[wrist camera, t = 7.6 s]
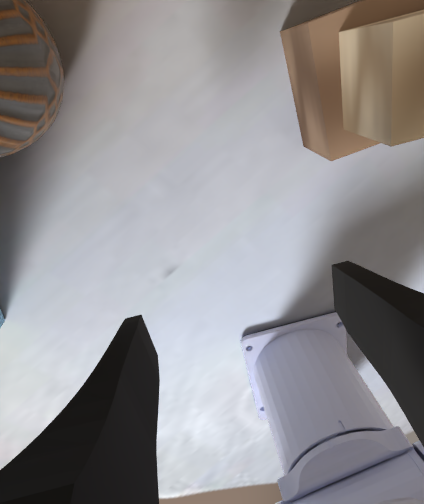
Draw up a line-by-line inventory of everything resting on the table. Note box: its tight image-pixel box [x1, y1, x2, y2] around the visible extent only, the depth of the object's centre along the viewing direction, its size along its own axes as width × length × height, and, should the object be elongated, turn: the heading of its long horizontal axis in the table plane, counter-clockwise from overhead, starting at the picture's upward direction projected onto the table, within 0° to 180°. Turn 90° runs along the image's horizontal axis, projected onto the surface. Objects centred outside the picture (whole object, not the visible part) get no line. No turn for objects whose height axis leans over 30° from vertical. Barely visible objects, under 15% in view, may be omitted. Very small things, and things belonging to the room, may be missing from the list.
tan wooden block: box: [280, 0, 424, 161], centre depth 18 cm, size 6×6×4 cm
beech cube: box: [339, 10, 424, 146], centre depth 14 cm, size 4×4×4 cm
